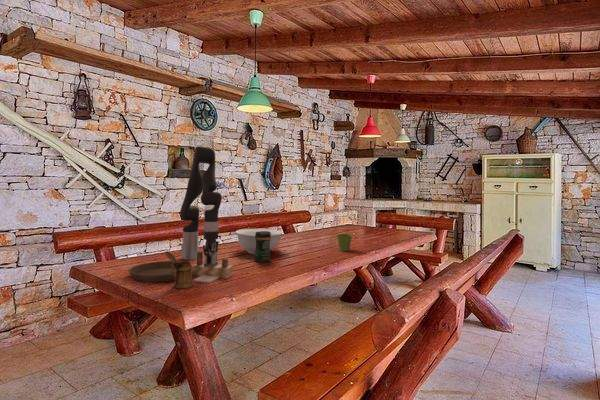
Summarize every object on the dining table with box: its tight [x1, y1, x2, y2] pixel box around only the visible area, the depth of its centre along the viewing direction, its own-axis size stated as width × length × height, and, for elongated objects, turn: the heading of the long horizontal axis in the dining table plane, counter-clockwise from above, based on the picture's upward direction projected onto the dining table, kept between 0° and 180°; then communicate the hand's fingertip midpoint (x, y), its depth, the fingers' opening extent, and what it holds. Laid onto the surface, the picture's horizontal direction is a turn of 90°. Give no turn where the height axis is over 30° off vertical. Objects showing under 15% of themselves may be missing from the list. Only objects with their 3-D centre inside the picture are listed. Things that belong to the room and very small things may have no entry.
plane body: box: [191, 250, 234, 279], centre depth 197 cm, size 20×7×12 cm, turn 77°
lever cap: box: [204, 252, 218, 264], centre depth 197 cm, size 5×4×5 cm
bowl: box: [235, 228, 283, 255], centre depth 258 cm, size 32×32×15 cm
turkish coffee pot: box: [165, 250, 195, 290], centre depth 174 cm, size 9×14×18 cm, turn 137°
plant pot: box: [335, 233, 354, 252], centre depth 271 cm, size 12×12×11 cm
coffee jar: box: [253, 231, 271, 263], centre depth 232 cm, size 10×8×19 cm
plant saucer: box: [128, 260, 193, 283], centre depth 195 cm, size 31×31×5 cm
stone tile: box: [193, 275, 219, 284], centre depth 188 cm, size 9×9×1 cm
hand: (210, 262), depth 197 cm, fingers closed on lever cap, 4 cm apart
